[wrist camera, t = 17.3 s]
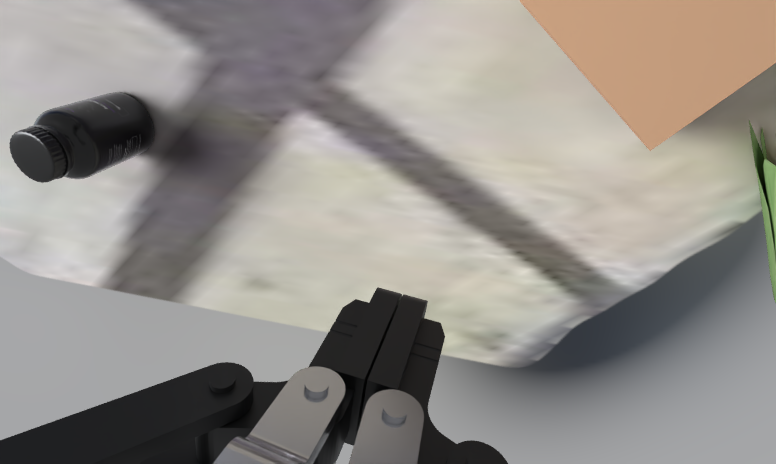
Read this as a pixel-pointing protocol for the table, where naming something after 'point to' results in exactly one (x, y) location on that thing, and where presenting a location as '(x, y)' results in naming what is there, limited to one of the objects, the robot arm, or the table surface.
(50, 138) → the supplement bottle
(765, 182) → the edible corn
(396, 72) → the table surface
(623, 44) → the panel
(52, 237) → the table surface
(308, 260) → the table surface
